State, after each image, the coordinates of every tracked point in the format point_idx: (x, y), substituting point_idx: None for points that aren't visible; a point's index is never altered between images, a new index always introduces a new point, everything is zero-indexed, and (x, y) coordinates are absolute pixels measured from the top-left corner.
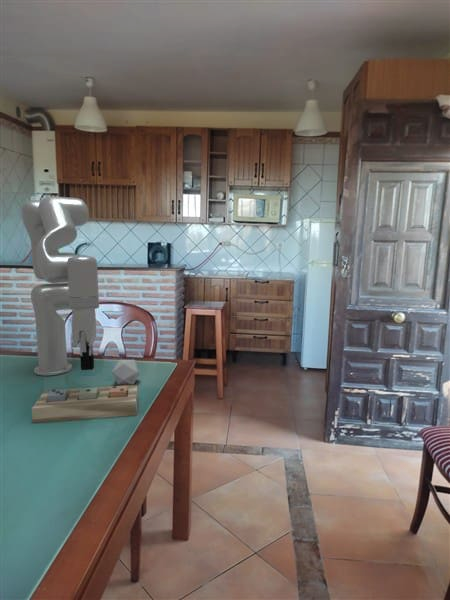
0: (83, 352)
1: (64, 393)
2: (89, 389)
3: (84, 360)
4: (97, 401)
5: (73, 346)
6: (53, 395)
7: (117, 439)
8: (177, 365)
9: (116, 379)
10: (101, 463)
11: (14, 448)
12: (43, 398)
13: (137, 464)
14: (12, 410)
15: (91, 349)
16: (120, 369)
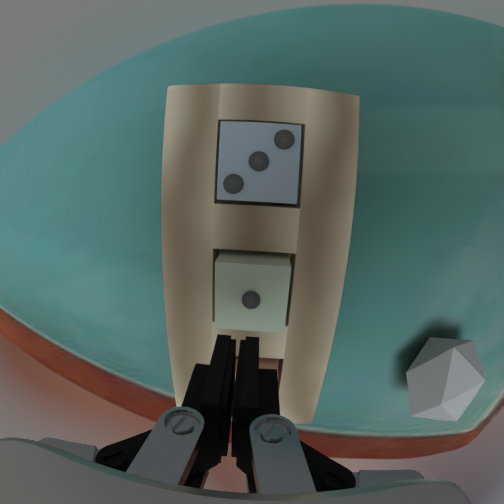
0: (137, 451)
1: (239, 195)
2: (256, 304)
3: (185, 401)
4: (186, 322)
5: (5, 438)
6: (224, 148)
7: (77, 336)
8: (461, 433)
9: (434, 345)
10: (16, 302)
11: (61, 114)
12: (266, 102)
13: (24, 350)
14: (307, 21)
15: (247, 489)
16: (436, 382)
